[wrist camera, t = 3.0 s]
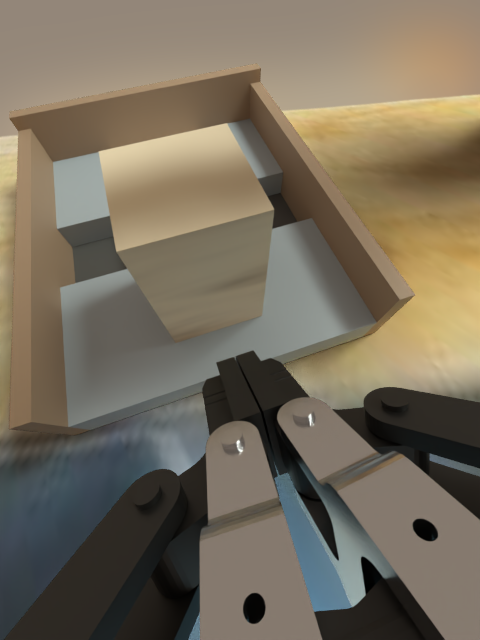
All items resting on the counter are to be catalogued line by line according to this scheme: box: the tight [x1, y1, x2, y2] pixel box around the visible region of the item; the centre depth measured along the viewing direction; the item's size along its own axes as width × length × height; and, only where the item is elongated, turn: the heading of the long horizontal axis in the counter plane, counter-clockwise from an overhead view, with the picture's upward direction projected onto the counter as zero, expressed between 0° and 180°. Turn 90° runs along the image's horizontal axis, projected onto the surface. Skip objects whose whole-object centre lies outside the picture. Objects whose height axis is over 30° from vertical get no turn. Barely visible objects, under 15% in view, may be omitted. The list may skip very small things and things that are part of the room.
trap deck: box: [9, 64, 415, 435], centre depth 22 cm, size 26×22×6 cm
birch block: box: [99, 123, 274, 343], centre depth 15 cm, size 6×6×9 cm
